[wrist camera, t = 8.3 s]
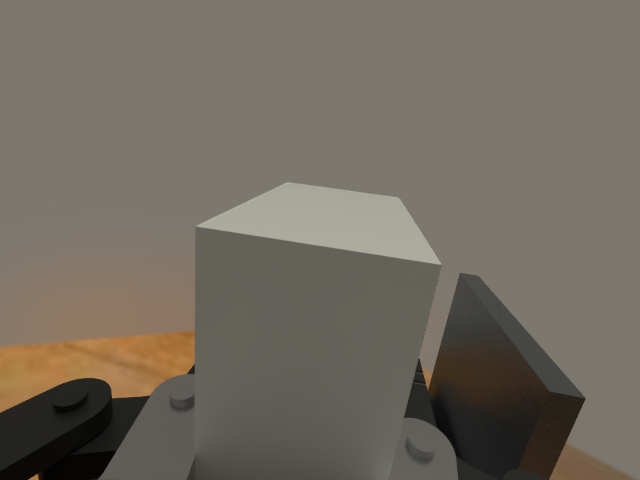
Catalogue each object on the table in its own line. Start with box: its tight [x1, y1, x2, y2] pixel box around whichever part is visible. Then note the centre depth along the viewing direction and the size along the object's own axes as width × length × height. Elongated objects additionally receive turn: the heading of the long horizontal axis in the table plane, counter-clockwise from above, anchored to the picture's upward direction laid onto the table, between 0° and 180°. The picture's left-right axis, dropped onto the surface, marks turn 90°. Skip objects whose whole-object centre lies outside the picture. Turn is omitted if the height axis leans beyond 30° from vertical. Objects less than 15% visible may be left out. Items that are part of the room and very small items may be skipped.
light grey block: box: [194, 182, 442, 480], centre depth 8 cm, size 3×5×12 cm, turn 172°
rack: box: [428, 273, 585, 480], centre depth 24 cm, size 23×15×14 cm, turn 82°
